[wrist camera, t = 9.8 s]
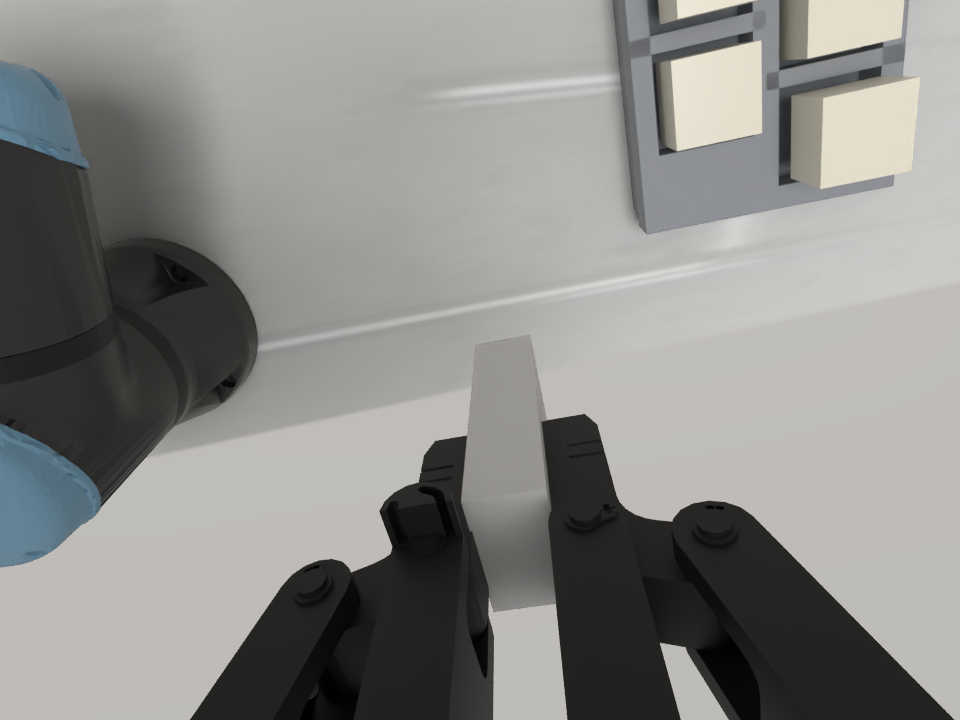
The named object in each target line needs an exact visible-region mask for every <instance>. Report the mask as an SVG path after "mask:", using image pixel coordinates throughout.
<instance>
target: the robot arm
mask: <svg viewBox="0 0 960 720" xmlns="http://www.w3.org/2000/svg"><path fill="white" fill-rule="evenodd" d="M88 169H90V168H89V163H88V161H87V160H86V159H85V158H84V157H83V156H82V153H81V150H80V146H79V142H78V139H77V135H76V131H75V127H74V124H73V120H72V116H71V113H70V109H69V105H68V102H67V100H66V98H65V96H64V94H63V93H62V91H61V90H60V89H59V88H58V86H57V85H56V84H55V83H54V82H53V81H51V80H50V79H49V78H48V77H46V76H45V75H43V74H41V73H40V72H38V71H36V70H34V69H31V68H29V67H26V66H22V65H18V64H13V63H9V62H4V61H0V567H6V566H14V565H20V564H24V563H27V562H31V561H33V560H36V559H38V558H41V557H43V556H45V555H46V554H48V553H50V552H51V551H53V550H54V549H56V548H57V547H58V546H59V545H60V544H61V543H62V542H64V541H65V540H66V539H67V538H68V537H69V536H70V535H71V534H72V533H73V532H74V531H75V530H76V529H77V528H78V527H79V526H80V525H82V524H84V523H86V522H88V521H89V520H90V519H92V518H93V517H94V516H95V515H96V514H97V513H98V511H99V510H100V508H101V507H102V505H103V504H104V503H105V502H106V501H107V500H108V499H109V498H110V497H111V495H112V494H113V493H114V492H115V491H116V490H117V489H118V488H119V487H120V485H121V484H122V483H123V482H124V481H125V480H126V479H127V478H128V477H129V475H130V474H131V473H132V472H133V471H134V470H135V469H136V467H138V465H139V464H140V463H141V462H142V461H143V460H144V459H145V458H146V457H147V455H148V454H149V453H150V452H151V451H152V450H153V449H154V448H155V446H156V445H157V444H158V443H159V442H160V441H161V440H162V439H163V438H164V436H165V435H166V434H167V433H168V432H169V431H170V430H171V429H172V428H173V427H174V426H175V425H178V424H180V423H183V422H185V421H187V420H190V419H192V418H195V417H197V416H200V415H202V414H204V413H207V412H209V411H211V410H213V409H215V408H217V407H218V406H220V405H221V404H223V403H224V402H225V401H227V400H228V399H229V398H230V397H231V396H232V395H233V394H234V393H235V392H236V391H237V389H238V388H239V387H240V386H241V385H242V384H243V382H244V381H245V380H246V378H247V377H248V375H249V373H250V372H251V370H252V367H253V365H254V362H255V358H256V352H257V333H256V327H255V323H254V319H253V316H252V313H251V311H250V309H249V306H248V304H247V302H246V300H245V299H244V297H243V295H242V294H241V292H240V291H239V289H238V288H237V287H236V285H235V284H234V283H233V282H232V281H231V279H230V278H229V277H228V276H227V275H226V274H225V273H224V272H223V271H222V270H220V269H219V268H218V267H217V266H216V265H214V264H213V263H212V262H210V261H209V260H208V259H206V258H205V257H203V256H201V255H200V254H198V253H196V252H194V251H192V250H190V249H188V248H185V247H183V246H180V245H178V244H175V243H171V242H167V241H162V240H156V239H132V240H126V241H122V242H119V243H116V244H113V245H111V246H108V247H106V248H104V249H103V247H102V242H101V237H100V232H99V227H98V223H97V218H96V213H95V208H94V204H93V199H92V194H91V189H90V184H89V180H88V175H87V170H88ZM421 471H422V473H421V474H420V479H419V483H415V484H412V485H409V486H406V487H404V488H402V489H400V490H398V491H397V492H395V493H394V494H393V495H391V496H390V497H389V498H388V499H387V500H386V501H385V502H384V504H383V506H382V508H381V509H380V514H381V517H382V520H383V522H384V525H385V528H386V530H387V533H388V536H389V538H390V541H391V544H392V546H393V547H392V551H391V554H390V555H389V556H387V557H386V558H384V559H382V560H380V561H378V562H376V563H374V564H372V565H369V566H367V567H364V568H362V569H359V570H357V571H354V572H352V573H351V572H350V569H349V568H348V567H347V566H346V565H345V564H344V563H343V562H341V561H337V560H333V559H329V560H320V561H317V562H314V563H312V564H309V565H307V566H305V567H303V568H302V569H300V570H299V571H297V572H296V573H294V574H293V575H292V576H291V577H290V578H289V579H288V580H287V581H286V582H285V583H284V585H283V586H282V587H281V588H280V590H279V591H278V593H277V594H276V596H275V597H274V599H273V600H272V602H271V603H270V604H269V606H268V607H267V609H266V610H265V612H264V613H263V615H262V616H261V617H260V619H259V620H258V622H257V623H256V625H255V626H254V628H253V629H252V631H251V632H250V633H249V635H248V636H247V638H246V639H245V641H244V642H243V644H242V645H241V647H240V648H239V649H238V651H237V653H236V654H235V655H234V657H233V658H232V660H231V661H230V663H229V664H228V665H227V667H226V669H225V670H224V671H223V673H222V674H221V676H220V677H219V679H218V680H217V681H216V683H215V684H214V686H213V687H212V689H211V690H210V692H209V693H208V695H207V696H206V697H205V699H204V700H203V702H202V703H201V705H200V706H199V708H198V709H197V711H196V712H195V713H194V715H193V716H192V718H191V719H190V720H493V668H494V667H493V666H494V663H493V662H494V635H493V631H492V626H491V623H490V620H489V616H488V603H489V602H488V601H489V598H490V601H491V605H492V608H493V611H494V612H496V611H505V610H512V609H520V608H527V607H535V606H542V605H549V604H556V608H557V618H558V628H559V638H560V647H561V658H562V668H563V679H564V688H565V699H566V709H567V719H568V720H681V719H680V715H679V712H678V708H677V705H676V701H675V697H674V694H673V690H672V686H671V683H670V679H669V676H668V672H667V668H666V665H665V661H664V657H663V653H662V650H661V646H660V643H665V644H671V645H677V646H682V647H686V650H687V652H688V654H689V656H690V658H691V659H692V661H693V662H694V664H695V666H696V667H697V669H698V671H699V672H700V674H701V675H702V677H703V678H704V680H705V682H706V683H707V685H708V687H709V688H710V690H711V691H712V693H713V695H714V696H715V698H716V700H717V701H718V703H719V704H720V706H721V708H722V709H723V711H724V712H725V714H726V716H727V717H728V719H729V720H954V719H953V718H952V717H951V716H950V715H949V714H948V713H947V712H946V711H945V710H944V709H943V708H942V707H941V706H940V705H939V704H938V703H937V702H936V701H935V700H934V699H933V698H932V697H931V696H930V695H929V694H928V693H927V692H926V691H925V690H924V689H923V688H922V687H921V686H920V685H919V684H918V683H917V682H916V681H915V680H914V679H913V678H912V677H911V676H910V675H909V674H908V673H907V671H906V670H904V669H903V668H902V666H900V665H899V663H898V662H897V661H896V660H895V659H894V658H893V657H892V656H891V655H890V654H889V653H888V652H887V651H886V650H885V649H884V648H883V647H882V646H881V645H880V644H879V643H878V642H877V641H876V640H875V639H874V638H873V637H872V636H871V635H870V634H869V633H868V632H867V631H866V630H865V629H864V628H863V627H862V626H861V625H860V624H859V623H858V622H857V621H856V620H855V619H854V618H853V617H852V616H851V615H850V614H849V613H848V612H847V611H846V610H845V609H844V608H843V607H842V606H841V605H840V604H839V603H838V602H837V601H836V600H835V599H834V598H833V597H832V596H831V595H830V594H829V593H828V592H827V591H826V590H825V589H824V588H823V587H822V586H821V585H820V584H819V583H818V582H817V581H816V579H815V578H814V577H813V576H812V575H811V574H810V573H809V572H807V571H806V569H805V568H804V567H803V566H802V565H801V564H800V563H799V562H797V560H796V559H795V558H794V557H793V556H792V555H791V554H790V553H789V552H788V551H787V550H786V549H785V548H784V547H783V546H782V545H781V544H780V543H779V542H778V541H777V540H776V539H775V538H774V537H773V536H772V535H771V534H770V533H769V532H768V531H767V530H766V529H765V528H764V527H763V526H762V525H761V524H760V523H759V522H758V521H757V520H756V519H755V518H754V517H753V516H752V515H751V514H749V513H748V512H746V511H745V510H743V509H742V508H740V507H738V506H735V505H732V504H729V503H726V502H716V501H705V502H700V503H693V504H691V505H689V506H687V507H685V508H683V509H682V510H680V511H679V513H678V514H677V515H676V516H675V518H674V519H673V522H669V521H658V520H652V519H646V518H643V517H640V516H637V515H635V514H633V513H631V512H630V511H628V510H627V509H625V508H624V507H623V505H622V504H621V503H620V502H619V500H618V498H617V496H616V492H615V489H614V485H613V481H612V477H611V474H610V470H609V466H608V463H607V459H606V456H605V453H604V448H603V445H602V441H601V437H600V433H599V430H598V426H597V424H596V423H595V422H593V421H592V420H591V419H590V418H589V417H587V416H586V415H585V414H582V415H576V416H570V417H564V418H558V419H553V420H547V418H546V412H545V408H544V403H543V398H542V393H541V388H540V383H539V378H538V373H537V368H536V363H535V358H534V353H533V348H532V343H531V339H530V335H526V336H521V337H516V338H510V339H505V340H500V341H494V342H489V343H484V344H479V345H476V348H475V359H474V369H473V380H472V391H471V401H470V412H469V422H468V434H467V436H462V437H456V438H450V439H444V440H439V441H435V442H434V444H433V445H432V446H431V447H430V449H429V450H428V451H427V452H426V454H425V455H424V459H423V464H422V469H421Z"/></svg>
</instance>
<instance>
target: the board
mask: <svg viewBox="0 0 960 720" xmlns="http://www.w3.org/2000/svg"><path fill="white" fill-rule="evenodd" d="M613 6H614V16H615V26H616V36H617V46H618V55H619V65H620V75H621V85H622V95H623V105H624V115H625V125H626V135H627V145H628V154H629V164H630V174H631V184H632V194H633V204H634V209H635V210H636V211H637V212H638V217H639V226H640V227H641V228H642V230H643V231H644V232H645V233H646V234H652V233H657V232H662V231H667V230H672V229H677V228H682V227H687V226H692V225H697V224H703V223H708V222H713V221H718V220H723V219H728V218H733V217H738V216H743V215H748V214H753V213H758V212H763V211H768V210H774V209H779V208H784V207H789V206H794V205H799V204H804V203H809V202H814V201H819V200H824V199H829V198H834V197H839V196H845V195H850V194H855V193H860V192H865V191H870V190H875V189H880V188H885V187H890V186H893V184H894V175H889V176H884V177H879V178H874V179H869V180H864V181H859V182H854V183H849V184H844V185H839V186H834V187H829V188H824V189H818V188H816V187H813V186H810V185H808V184H805V183H802V182H799V181H797V180H794V179H791V97H792V95H796V94H801V93H806V92H810V91H815V90H819V89H824V88H828V87H833V86H837V85H842V84H847V83H851V82H856V81H860V80H865V79H869V78H874V77H903V66H904V54H905V42H906V30H907V18H908V6H909V0H904V11H903V23H902V35H901V38H898V39H894V40H889V41H885V42H880V43H876V44H872V45H867V46H863V47H858V48H854V49H849V50H845V51H841V52H836V53H832V54H827V55H823V56H819V57H814V58H810V59H797V60H779V0H758V1H755V2H751V3H748V4H744V5H740V6H735V7H731V8H727V9H723V10H719V11H715V12H710V13H706V14H702V15H698V16H694V17H690V18H685V19H681V20H677V21H673V22H669V23H665V24H660V20H659V6H658V0H613ZM760 40H761V45H762V133H761V134H756V135H751V136H747V137H742V138H737V139H733V140H728V141H723V142H718V143H714V144H709V145H704V146H700V147H695V148H690V149H686V150H681V151H675V150H673V149H671V148H669V147H666V146H664V145H662V144H661V134H660V122H659V109H658V96H657V83H656V70H655V62H659V61H663V60H667V59H672V58H676V57H680V56H685V55H689V54H693V53H698V52H702V51H706V50H710V49H715V48H719V47H723V46H728V45H732V44H736V43H744V42H752V41H760Z"/></svg>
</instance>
